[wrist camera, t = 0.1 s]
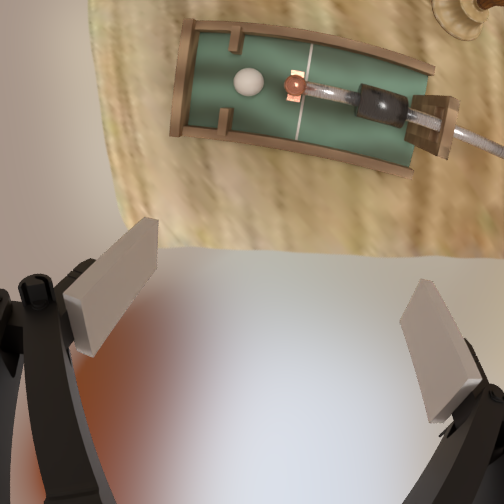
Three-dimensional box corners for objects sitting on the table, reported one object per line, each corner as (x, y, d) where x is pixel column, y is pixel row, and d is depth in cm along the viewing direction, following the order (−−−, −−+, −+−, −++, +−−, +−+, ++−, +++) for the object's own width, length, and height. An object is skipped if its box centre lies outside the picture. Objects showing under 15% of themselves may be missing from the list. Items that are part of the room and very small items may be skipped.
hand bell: (454, 48, 28) (523, 35, 14) (420, -3, 26) (474, -41, 12) (490, 31, 25) (560, 19, 11) (459, -18, 22) (517, -50, 8)
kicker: (290, 74, 33) (286, 64, 23) (484, 133, 31) (532, 150, 21) (285, 101, 34) (280, 101, 25) (478, 156, 33) (525, 179, 23)
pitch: (195, 25, 32) (157, 3, 22) (425, 68, 30) (469, 61, 20) (181, 132, 39) (140, 146, 29) (404, 173, 38) (438, 202, 27)
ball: (238, 67, 34) (232, 65, 30) (267, 71, 33) (264, 68, 30) (234, 94, 35) (228, 94, 32) (263, 98, 35) (259, 98, 32)
